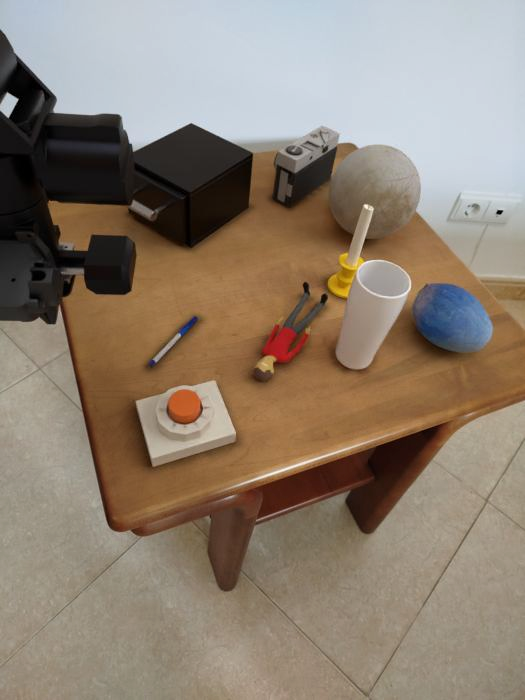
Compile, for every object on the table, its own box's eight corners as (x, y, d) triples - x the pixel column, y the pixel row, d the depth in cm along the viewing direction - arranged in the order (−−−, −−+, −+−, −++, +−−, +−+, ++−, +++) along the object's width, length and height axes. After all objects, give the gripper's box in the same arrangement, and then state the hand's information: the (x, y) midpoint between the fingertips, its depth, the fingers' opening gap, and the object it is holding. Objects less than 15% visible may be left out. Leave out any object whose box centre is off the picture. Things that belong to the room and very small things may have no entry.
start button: (173, 427, 55) (172, 419, 53) (165, 401, 57) (164, 393, 55) (204, 418, 56) (204, 410, 54) (195, 394, 58) (195, 385, 56)
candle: (341, 271, 80) (366, 187, 68) (366, 288, 78) (396, 205, 65) (320, 285, 77) (342, 200, 65) (345, 303, 75) (373, 220, 63)
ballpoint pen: (193, 317, 70) (193, 312, 69) (198, 319, 70) (198, 315, 69) (148, 366, 64) (147, 361, 63) (153, 369, 64) (153, 364, 63)
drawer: (165, 258, 76) (162, 210, 69) (110, 224, 80) (101, 176, 73) (238, 207, 86) (241, 161, 80) (186, 179, 90) (184, 133, 83)
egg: (424, 246, 69) (515, 309, 64) (418, 275, 77) (499, 334, 71) (382, 287, 68) (471, 355, 63) (380, 313, 76) (459, 375, 71)
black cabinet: (191, 248, 80) (189, 191, 71) (131, 213, 84) (124, 156, 76) (248, 207, 88) (253, 152, 80) (192, 177, 92) (191, 122, 84)
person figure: (331, 286, 71) (271, 368, 60) (333, 307, 73) (276, 389, 63) (300, 280, 73) (237, 358, 63) (303, 301, 76) (243, 379, 65)
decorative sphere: (392, 206, 93) (419, 129, 81) (413, 258, 84) (447, 180, 72) (315, 202, 91) (332, 124, 79) (328, 255, 82) (348, 175, 70)
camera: (298, 163, 99) (306, 114, 91) (331, 180, 96) (343, 131, 89) (255, 190, 92) (260, 139, 84) (290, 209, 89) (298, 158, 81)
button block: (152, 467, 55) (149, 451, 52) (137, 410, 60) (133, 392, 57) (235, 442, 58) (237, 425, 55) (214, 389, 63) (215, 371, 60)
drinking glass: (385, 368, 68) (423, 291, 56) (343, 381, 66) (373, 303, 54) (362, 333, 71) (393, 254, 60) (321, 344, 69) (345, 264, 58)
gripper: (-166, 255, 34) (-68, 383, 46) (110, 263, 36) (134, 383, 48) (-101, 167, 41) (-31, 299, 53) (127, 178, 43) (144, 302, 55)
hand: (52, 321), depth 52 cm, fingers closed
